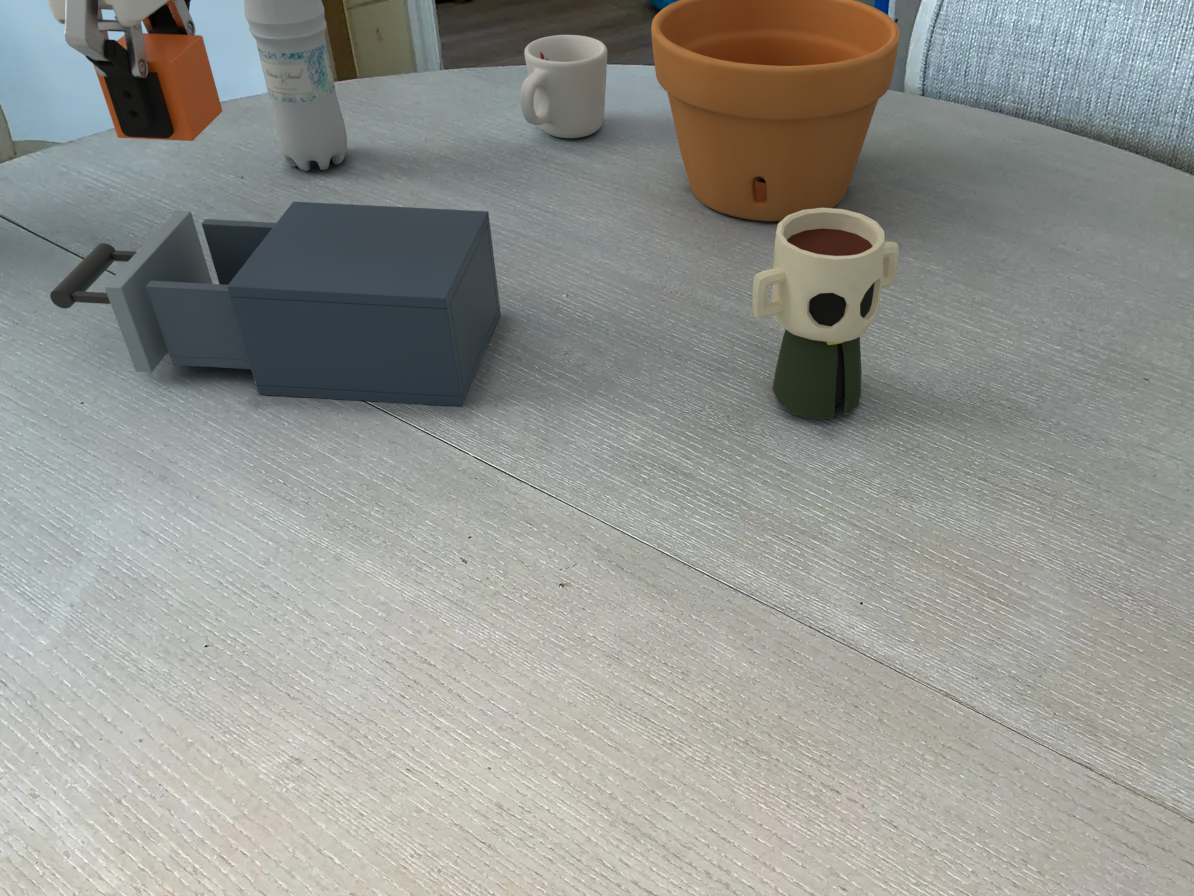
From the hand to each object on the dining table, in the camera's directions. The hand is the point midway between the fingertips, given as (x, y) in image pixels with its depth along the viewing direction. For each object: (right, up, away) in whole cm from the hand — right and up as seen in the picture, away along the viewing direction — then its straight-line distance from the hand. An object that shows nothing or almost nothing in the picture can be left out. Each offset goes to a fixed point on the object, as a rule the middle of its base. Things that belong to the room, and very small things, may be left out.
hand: (167, 115), depth 77 cm
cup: (+21, +13, +40) cm, 47 cm away
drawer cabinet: (+11, -14, +10) cm, 21 cm away
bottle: (-2, +8, +35) cm, 36 cm away
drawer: (-1, -13, +10) cm, 16 cm away
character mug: (+43, -18, +6) cm, 47 cm away
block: (0, 0, 0) cm, 1 cm away
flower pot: (+41, +5, +32) cm, 52 cm away
